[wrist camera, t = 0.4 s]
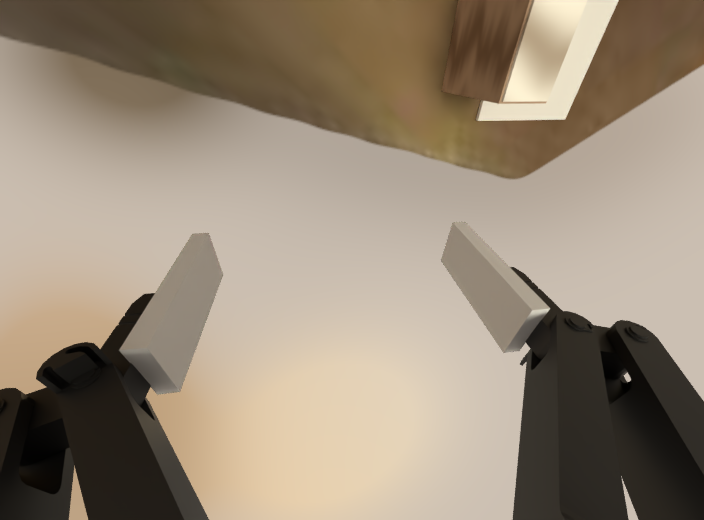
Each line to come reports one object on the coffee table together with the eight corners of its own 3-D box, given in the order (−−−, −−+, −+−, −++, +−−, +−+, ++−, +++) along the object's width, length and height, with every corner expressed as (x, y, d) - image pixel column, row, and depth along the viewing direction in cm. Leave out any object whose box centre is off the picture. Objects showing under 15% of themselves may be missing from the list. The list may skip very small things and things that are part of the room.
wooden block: (458, -4, 30) (544, -39, 19) (499, -2, 30) (603, -35, 20) (441, 91, 35) (500, 104, 24) (476, 91, 36) (548, 103, 25)
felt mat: (519, -47, 28) (523, -49, 28) (631, -39, 30) (636, -41, 29) (475, 120, 38) (477, 120, 37) (561, 118, 39) (565, 119, 39)
